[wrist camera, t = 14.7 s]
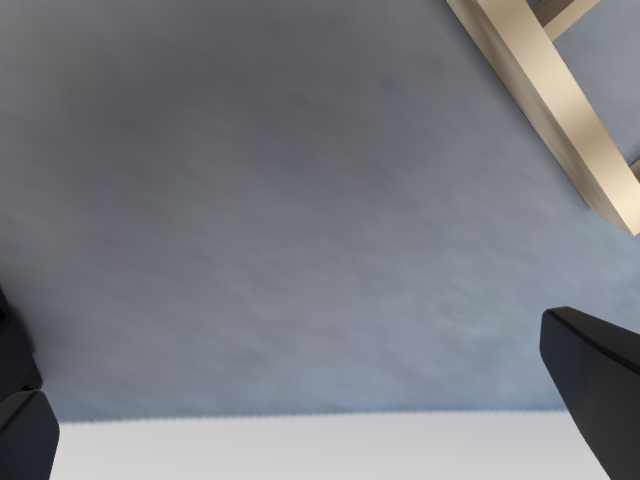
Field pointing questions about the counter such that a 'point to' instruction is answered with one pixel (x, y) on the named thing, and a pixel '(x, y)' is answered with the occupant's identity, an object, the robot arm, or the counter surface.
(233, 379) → the counter surface
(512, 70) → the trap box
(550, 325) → the robot arm
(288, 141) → the counter surface
